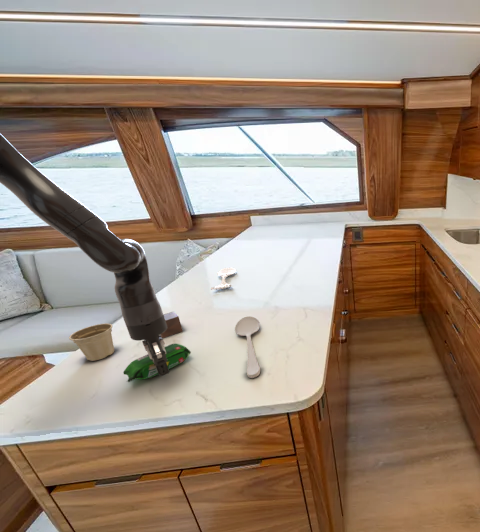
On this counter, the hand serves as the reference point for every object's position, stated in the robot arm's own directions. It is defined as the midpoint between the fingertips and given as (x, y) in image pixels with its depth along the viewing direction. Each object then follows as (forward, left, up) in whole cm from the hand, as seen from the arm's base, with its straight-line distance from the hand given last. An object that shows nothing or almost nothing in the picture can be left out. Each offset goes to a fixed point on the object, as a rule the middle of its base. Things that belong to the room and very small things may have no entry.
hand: (164, 373), depth 81 cm
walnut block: (+7, +29, -2) cm, 30 cm away
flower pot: (-11, +29, -2) cm, 31 cm away
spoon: (+22, -2, -2) cm, 22 cm away
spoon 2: (+37, +67, -2) cm, 77 cm away
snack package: (0, +6, -2) cm, 6 cm away
